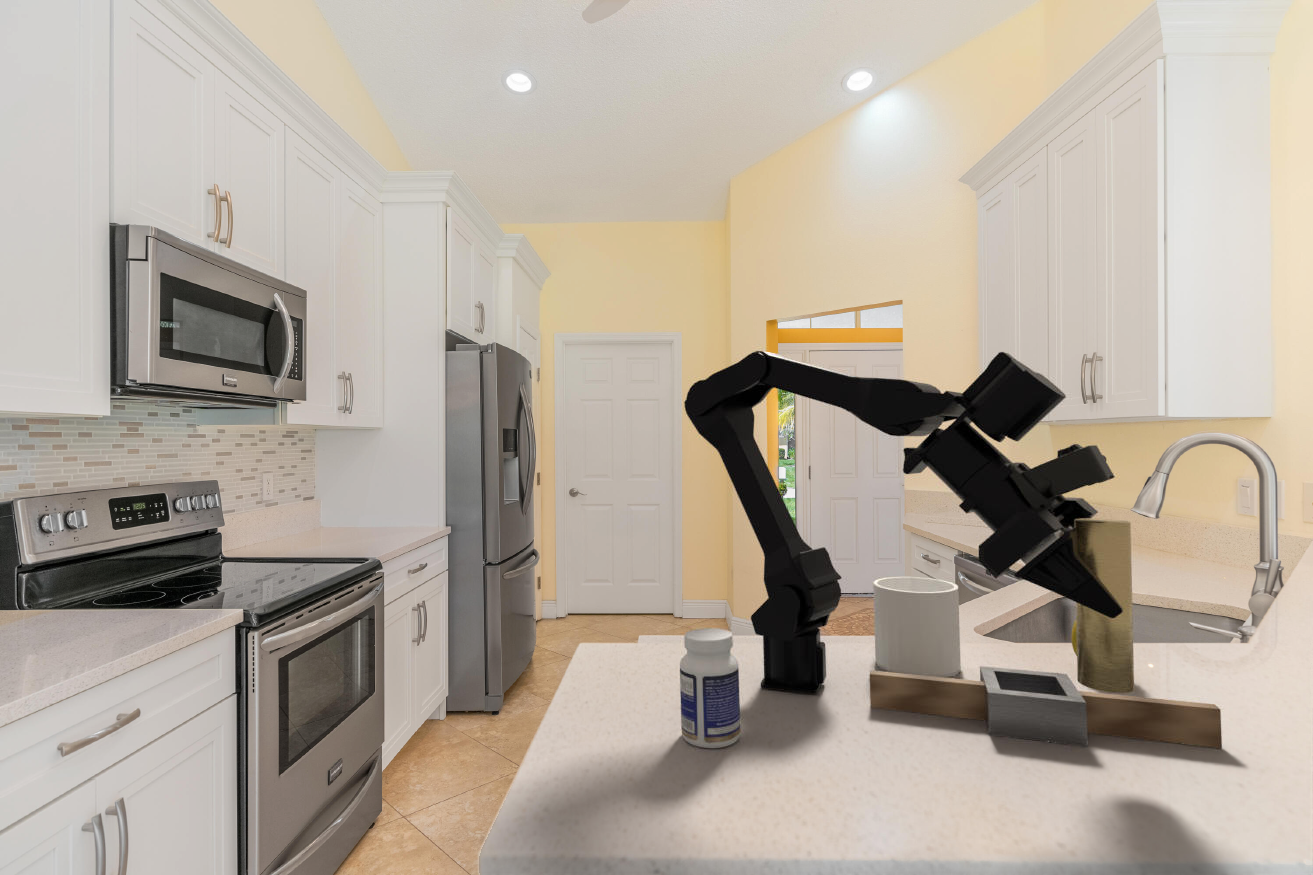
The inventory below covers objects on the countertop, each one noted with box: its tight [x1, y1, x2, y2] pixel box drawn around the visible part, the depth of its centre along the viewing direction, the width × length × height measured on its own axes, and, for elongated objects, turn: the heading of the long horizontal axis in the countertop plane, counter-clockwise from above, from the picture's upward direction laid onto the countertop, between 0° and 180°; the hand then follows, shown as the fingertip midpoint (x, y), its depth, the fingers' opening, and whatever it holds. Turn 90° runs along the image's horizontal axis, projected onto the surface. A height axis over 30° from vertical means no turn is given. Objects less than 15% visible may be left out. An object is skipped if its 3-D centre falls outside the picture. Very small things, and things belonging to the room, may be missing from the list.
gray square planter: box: [979, 665, 1089, 748], centre depth 64 cm, size 8×8×4 cm
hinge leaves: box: [869, 670, 1223, 749], centre depth 64 cm, size 30×1×4 cm, turn 68°
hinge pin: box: [1074, 517, 1135, 694], centre depth 56 cm, size 4×4×14 cm
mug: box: [872, 576, 962, 678], centre depth 83 cm, size 13×10×10 cm
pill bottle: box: [679, 627, 741, 749], centre depth 63 cm, size 6×6×10 cm
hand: (1122, 609), depth 55 cm, fingers closed on hinge pin, 4 cm apart
